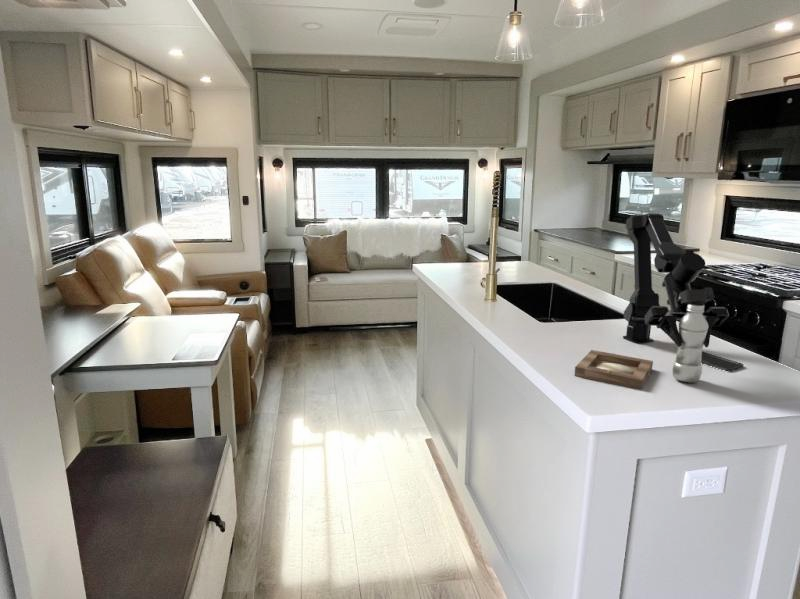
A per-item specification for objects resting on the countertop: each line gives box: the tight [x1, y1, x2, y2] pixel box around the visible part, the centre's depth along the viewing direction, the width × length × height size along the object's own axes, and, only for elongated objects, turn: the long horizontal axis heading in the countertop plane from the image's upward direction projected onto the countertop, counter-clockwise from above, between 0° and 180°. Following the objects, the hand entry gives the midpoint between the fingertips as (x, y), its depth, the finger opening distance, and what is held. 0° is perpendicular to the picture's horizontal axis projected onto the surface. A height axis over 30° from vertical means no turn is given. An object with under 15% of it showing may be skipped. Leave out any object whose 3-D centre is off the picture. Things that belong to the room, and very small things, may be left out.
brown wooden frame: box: [574, 349, 654, 390], centre depth 142 cm, size 16×16×3 cm
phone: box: [701, 351, 744, 372], centre depth 151 cm, size 8×1×15 cm
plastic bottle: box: [671, 303, 709, 383], centre depth 135 cm, size 6×7×20 cm
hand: (693, 346), depth 134 cm, fingers closed on plastic bottle, 6 cm apart
